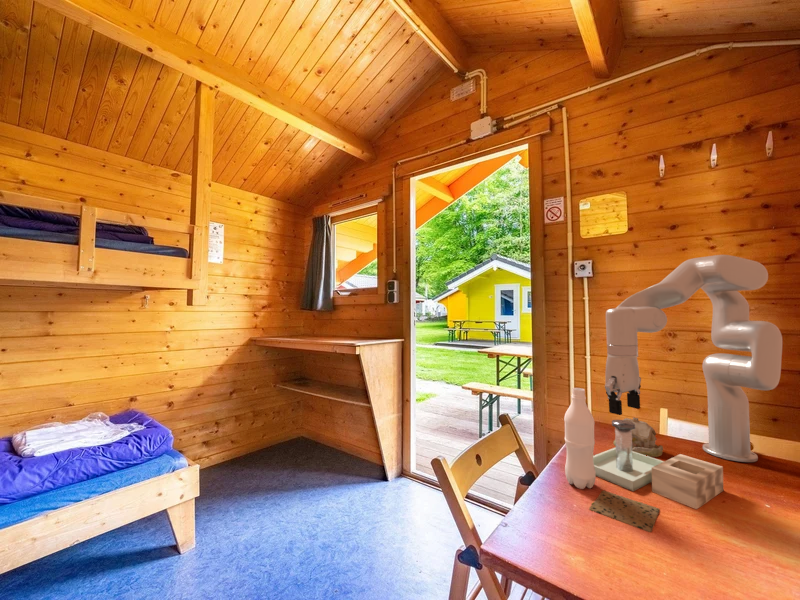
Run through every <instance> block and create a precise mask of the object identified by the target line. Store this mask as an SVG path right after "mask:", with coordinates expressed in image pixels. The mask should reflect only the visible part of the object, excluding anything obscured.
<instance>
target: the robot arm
mask: <svg viewBox="0 0 800 600" xmlns="http://www.w3.org/2000/svg"><path fill="white" fill-rule="evenodd" d="M768 279H769V273H768V269H767V268H766V267H765V265H763V264H762V263H760V262H759V261H756V260H752V259H748V258H745V257H740V256H735V255H731V254H730V255H729V254H714V255H708V256H701V257H694V258H689V259H686V260H685V261H683V262H681V263H680V264H679V265H678V266H677V267H676V268H675V269H674V270H672V271H671V272H670V273H669V274H668V275H667V276H665V277H664V278H663V279H662V280H661V281H660V282H658V283H655V284H653V285H651V286H649V287H647V288H645V289H643V290H640V291H637V292H635V293H634V294H631V295H630V296H629V297H627V298H626V299H624V300H623V301H622V302H621V303H620V304H618V305H617V307H615V308H613V307H612V308H609V309H606V311H605V331H606V352H607V353H606V355H607V357H606V363H605V373H604V374H605V381H604V383H605V384H604V390H605V391H606V392H605V394H606V396H607V399H608V412H609V413H610V414H614V415H617V416H621V415H623V404H622V400H621V396H622V394H623V393H626V404H627V407H628V408H632V409H638V410H639V409H640V408H641V399H640V398H641V397H640V396H641V395H640V394H641V390H640V389H641V383H642V377H641V376H640V367H639V361H638V358H639V346H638V345H639V342H638V341H639V340H638V333H657V332H660V331H661V330H663V329H664V328H665V327H666V326H667V322H668V316H667V314H666V312H664V311H663V310H662V309H667V308H668V309H669V308H671V307H672V308H673V307H676V306H677V305H681V304H683V303H685V302H686V301H688V300H689V299H690V298H691V297H692V296H693V295H694V294H695V293H697V291H698V290H700V289H701V290H702V291H703V292H704V294H706V296H707V297H708V298H709V300H710V302H711V305H712V318H711V331H710V333H711V335H710V336H711V341H712V345H714V346H715V347H716V348H718V349H719V348H720V349H723V350H730V351H737V352H738V351H739V352H749V353H751V356H750V355H741V354H732V353H723V352H722V353H720V352H718V353H713V354H709V355H707V356H706V357H705V358H704V359H703V362H702V366H701V367H702V371H703V372H702V373H703V376H704V379H705V383H706V385H705V386H706V391H707V392H706V393H707V421H708V424H707V425H708V442H706V443H703V444H702V450H703V451H704V452H706V453H707V454H710V455H712V456H714V457H717V458H720V459H724V460H728V461H733V462H738V463H740V462H741V463H756V462H757V461H758V460H759V457H758V454H756V453H755V452H753V451H751V431H750V430H751V429H750V427H751V426H750V403H749V398H748V396H747V394H746V392H745V391H744V390H743V388H748V389H752V390H758V391H759V390H760V391H770V390H771V391H772V390H774V389H776V388H777V387H778V385H779V382H780V379H781V372H782V355H783V335H782V333H781V330H780V329H779V327H778V326H777V325H776V324H774V323H772V322H770V321H766V320H765V321H764V320H750V304H749V302H748V301H747V299H746V297H744V295H742V293H740V291H755V290H759V289H761V288H763V287H764V286H765V285H766V284H767V282H768ZM616 393H617V394H616Z"/></svg>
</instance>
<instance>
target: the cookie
mask: <svg viewBox="0 0 800 600" xmlns="http://www.w3.org/2000/svg"><path fill="white" fill-rule="evenodd" d="M588 510H589V511H591V512H593V511H594V513H596V514H599V515H602V516H605V517H608V518H610V519H612V520H615V521H618V522H621V523H623V524H626V525H629V526H632V527H635V528H637V529H640V530H641V531H645V532H648V533H652V531H653V528H654V526H655V524H656V521H657V519H658V517H659V516H658V515H660V512H661V511H660V510H661V509H660V508H659V507H656V506H653V505H649V504H647V503H643V502H641V501H637V500H634V499H632V498H628V497H625V496H623V495H619V494H616V493H612V492H610V491H606V490H602V491H601V492H600V494H599V495H598V497H597V498H596V499H595V500H594V501H593V502H591V505H590V506H589V508H588Z"/></svg>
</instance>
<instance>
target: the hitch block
mask: <svg viewBox="0 0 800 600" xmlns="http://www.w3.org/2000/svg"><path fill="white" fill-rule="evenodd" d="M663 461H664V462H662V463H660V464H658V465H656V466H654V467H652V482H651V491H652V493H653V494H654V493H655V494H657V495H659V496H662V497H664V498H667V499H670V500H671V501H674V502H677V503H679V504H682V505H685V506H687V507H689V508H693V509H695V510H698V509H699V508H700V507H702V506H703V505H705V504H707V503H708V502H709V501H711V500H713V499H714V498H715V497H717V496H718V495H719V494H720V493H722V492H723V491H724V466H722V465H718V464H715V463H712V462H708V461H704V460H701V459H698V458H695V457H691V456H688V455H685V454H681V453H679V454H677V455H675V456H674V457H673V456H672V457H671V458H669V459H667V460H663Z"/></svg>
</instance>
